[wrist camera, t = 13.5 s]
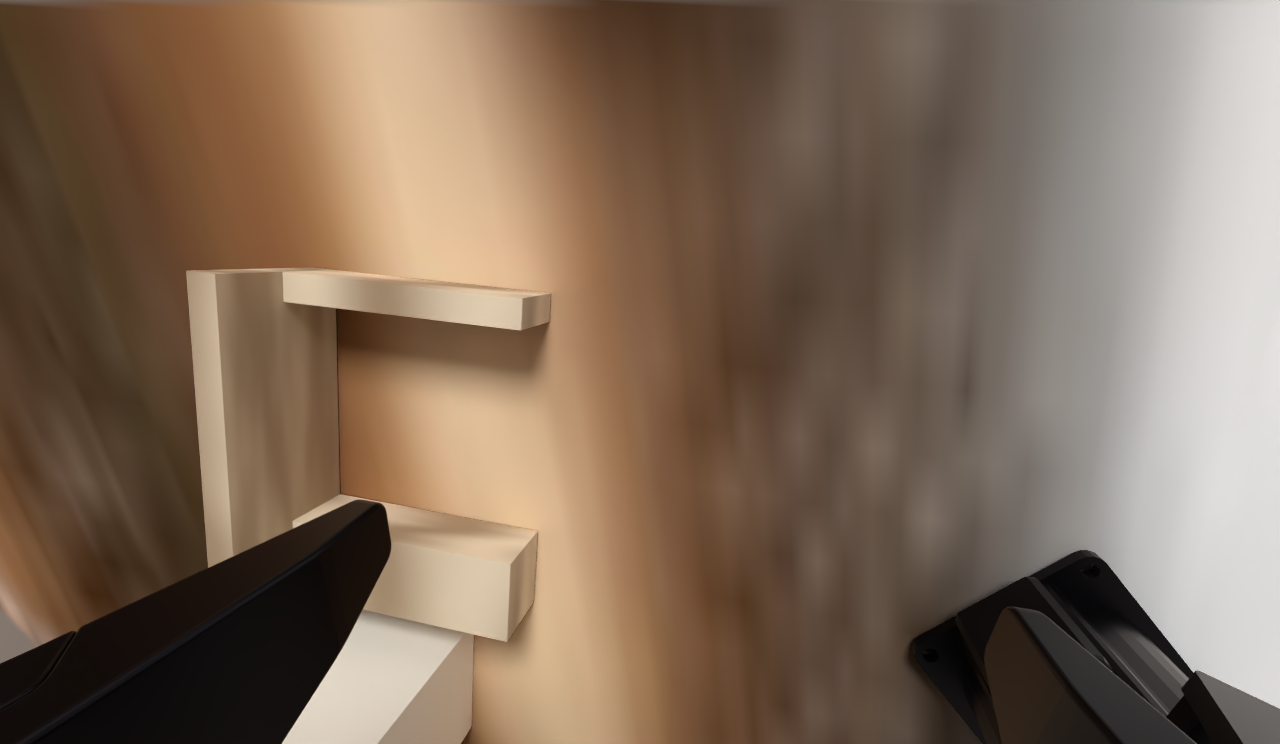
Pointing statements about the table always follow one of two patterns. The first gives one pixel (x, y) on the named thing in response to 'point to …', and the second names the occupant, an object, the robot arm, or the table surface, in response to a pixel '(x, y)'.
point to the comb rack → (309, 434)
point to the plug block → (393, 687)
